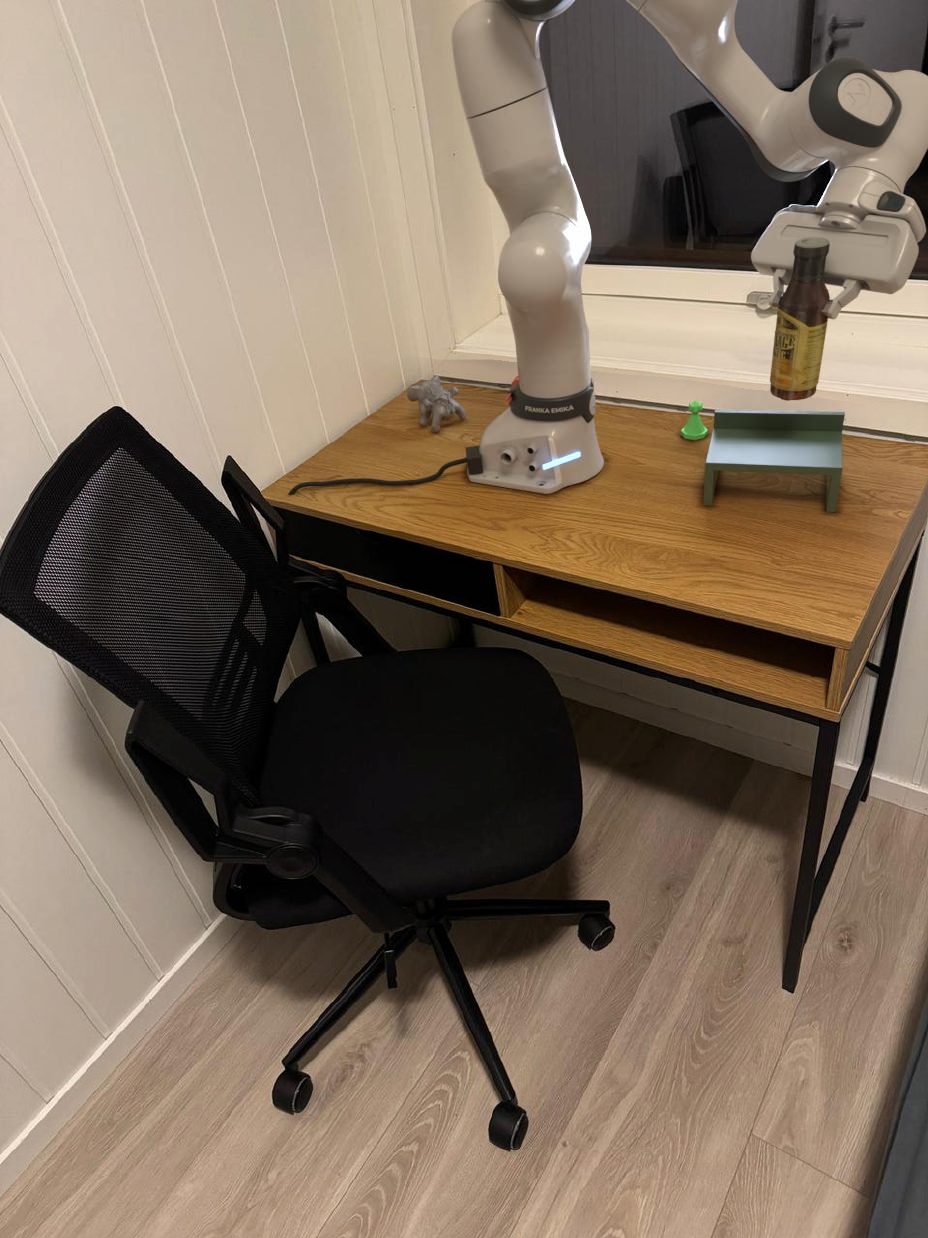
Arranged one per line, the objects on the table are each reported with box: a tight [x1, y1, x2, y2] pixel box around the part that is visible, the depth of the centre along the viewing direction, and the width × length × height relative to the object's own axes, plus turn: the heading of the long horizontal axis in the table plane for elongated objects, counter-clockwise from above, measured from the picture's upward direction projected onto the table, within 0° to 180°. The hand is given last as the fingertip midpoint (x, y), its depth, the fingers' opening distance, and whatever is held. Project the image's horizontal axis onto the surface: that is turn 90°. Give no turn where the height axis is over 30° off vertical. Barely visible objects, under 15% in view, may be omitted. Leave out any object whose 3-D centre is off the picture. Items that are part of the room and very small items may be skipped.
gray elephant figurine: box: [406, 375, 467, 434], centre depth 158 cm, size 9×12×8 cm
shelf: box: [702, 409, 846, 513], centre depth 124 cm, size 18×12×10 cm, turn 71°
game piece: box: [680, 400, 709, 441], centre depth 142 cm, size 4×4×6 cm
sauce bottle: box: [769, 237, 831, 402], centre depth 110 cm, size 7×6×20 cm
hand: (800, 311), depth 109 cm, fingers closed on sauce bottle, 6 cm apart
